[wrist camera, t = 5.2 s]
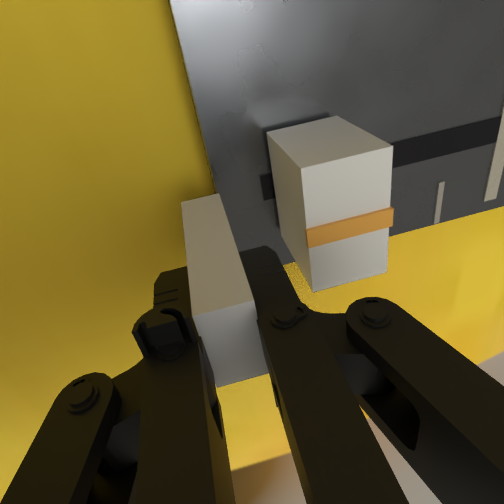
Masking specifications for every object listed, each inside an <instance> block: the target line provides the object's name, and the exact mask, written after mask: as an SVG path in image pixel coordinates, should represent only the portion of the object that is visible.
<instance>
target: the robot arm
mask: <svg viewBox="0 0 504 504" xmlns="http://www.w3.org/2000/svg"><path fill="white" fill-rule="evenodd" d="M181 208H182V218H183V228H184V238H185V248H186V258H187V266H186V267H182V268H178V269H174V270H170V271H166V272H162V273H160V275H159V277H158V278H157V280H156V282H155V283H154V302H153V304H154V306H153V309H151V310H149V311H148V312H146V313H145V314H144V315H142V316H141V317H140V318H139V319H138V320H137V322H136V323H135V324H134V327H133V330H132V334H133V336H134V338H135V340H136V342H137V344H138V346H139V348H140V350H141V352H142V354H143V356H144V358H143V359H142V360H141V361H140V362H139V363H138V364H136V365H135V366H133V367H132V368H130V369H129V370H127V371H125V372H123V373H122V374H120V375H118V376H116V377H114V378H112V379H111V378H110V377H109V376H107V375H106V374H104V373H96V372H94V373H90V374H86V375H83V376H81V377H79V378H77V379H75V380H73V381H72V382H71V383H70V384H68V385H67V386H66V387H65V388H64V389H63V390H62V391H61V392H60V394H59V395H58V396H57V398H56V399H55V401H54V403H53V405H52V406H51V408H50V410H49V412H48V414H47V416H46V418H45V420H44V422H43V423H42V425H41V427H40V429H39V431H38V433H37V435H36V437H35V439H34V440H33V442H32V444H31V446H30V448H29V450H28V452H27V454H26V455H25V457H24V459H23V461H22V463H21V465H20V467H19V469H18V471H17V472H16V474H15V476H14V478H13V480H12V482H11V484H10V486H9V487H8V489H7V491H6V493H5V495H4V497H3V499H2V501H1V503H0V504H236V503H235V496H234V490H233V483H232V477H231V470H230V463H229V457H228V450H227V444H226V437H225V431H224V424H223V418H222V411H221V405H220V402H219V400H218V397H217V394H216V387H215V383H216V386H217V388H218V387H221V386H225V385H228V384H232V383H236V382H239V381H243V380H246V379H250V378H253V377H257V376H260V375H264V374H268V373H269V374H270V378H271V382H272V387H273V392H274V397H275V401H276V406H277V407H278V408H279V412H280V415H281V418H282V422H283V425H284V429H285V432H286V435H287V439H288V442H289V445H290V449H291V452H292V456H293V459H294V462H295V466H296V469H297V473H298V476H299V479H300V483H301V486H302V489H303V493H304V496H305V500H306V503H307V504H409V502H408V500H407V498H406V497H405V495H404V493H403V490H402V489H401V487H400V485H399V483H398V481H397V479H396V477H395V475H394V473H393V471H392V469H391V467H390V465H389V463H388V461H387V459H386V457H385V455H384V453H383V451H382V449H381V448H380V445H379V443H378V442H377V440H376V438H375V436H374V434H373V432H372V430H371V428H370V426H369V424H368V422H367V420H366V418H365V416H364V414H363V412H362V410H361V408H362V409H363V410H364V411H365V412H366V414H367V415H368V416H369V417H370V418H371V419H372V421H373V422H374V423H375V424H376V425H377V427H378V428H379V429H380V430H381V431H382V433H384V435H385V436H386V437H387V439H388V440H389V441H390V442H391V443H392V444H393V446H394V447H395V448H396V449H397V450H398V452H399V453H400V454H401V455H402V456H403V458H404V459H405V460H406V461H407V462H408V463H409V465H410V466H411V467H412V468H413V469H414V471H415V472H416V473H417V474H418V475H419V477H420V478H421V479H422V480H423V481H424V482H425V484H426V485H427V486H428V487H429V488H430V490H431V491H432V492H433V493H434V494H435V495H436V497H437V498H438V499H439V500H440V502H441V503H442V504H504V386H503V385H501V384H500V383H499V382H497V381H496V380H495V379H494V378H492V377H491V376H489V375H488V374H487V373H486V372H484V371H483V370H482V369H480V368H479V367H478V366H477V365H475V364H474V363H473V362H471V361H470V360H469V359H467V358H466V357H465V356H464V355H462V354H461V353H460V352H458V351H457V350H456V349H454V348H453V347H452V346H450V345H449V344H448V343H447V342H445V341H444V340H443V339H441V338H440V337H439V336H437V335H436V334H435V333H433V332H432V331H431V330H429V329H428V328H427V327H426V326H424V325H423V324H422V323H420V322H419V321H418V320H416V319H415V318H414V317H412V316H411V315H410V314H409V313H407V312H406V311H405V310H403V309H402V308H401V307H399V306H398V305H397V304H395V303H393V302H391V301H389V300H387V299H383V298H379V297H365V298H362V299H359V300H356V301H355V302H353V303H352V304H351V305H349V307H348V309H347V311H346V313H337V314H329V313H320V312H316V311H313V310H311V309H309V308H308V307H307V306H306V305H305V304H303V303H302V302H301V301H300V300H299V298H298V296H297V294H296V292H295V290H294V287H293V285H292V283H291V281H290V279H289V277H288V275H287V273H286V271H285V270H284V267H283V265H282V263H281V261H280V259H279V257H278V255H277V253H276V252H275V251H274V250H272V249H271V248H269V247H268V246H266V245H265V246H261V247H257V248H253V249H249V250H245V251H241V252H238V250H237V247H236V244H235V241H234V237H233V234H232V231H231V228H230V225H229V222H228V219H227V216H226V213H225V210H224V207H223V204H222V201H221V198H220V195H219V193H217V194H213V195H209V196H205V197H201V198H196V199H192V200H188V201H184V202H181ZM359 405H360V406H361V408H360V406H359Z"/></svg>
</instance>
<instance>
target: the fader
mask: <svg viewBox="0 0 504 504" xmlns="http://www.w3.org/2000/svg"><path fill="white" fill-rule="evenodd" d="M266 134H267V141H268V147H269V154H270V161H271V168H272V175H273V182H274V189H275V196H276V202H277V209H278V216H279V223H280V230H281V236H282V238H283V240H284V242H285V243H286V245H287V247H288V249H289V251H290V252H291V254H292V256H293V258H294V260H295V261H296V263H297V265H298V267H299V268H300V270H301V272H302V274H303V276H304V277H305V279H306V281H307V283H308V285H309V286H310V288H311V290H312V292H317V291H320V290H324V289H327V288H331V287H335V286H338V285H342V284H346V283H349V282H353V281H357V280H360V279H364V278H367V277H371V276H375V275H378V274H382V273H386V272H387V257H388V237H389V227H392V226H393V212H394V208H392V207H391V206H390V197H391V178H392V158H393V146H392V145H390V144H389V143H387V142H385V141H383V140H381V139H379V138H377V137H376V136H374V135H372V134H370V133H368V132H366V131H364V130H363V129H361V128H359V127H357V126H355V125H353V124H351V123H349V122H348V121H346V120H344V119H342V118H340V117H338V116H333V117H329V118H324V119H320V120H316V121H312V122H307V123H303V124H299V125H294V126H290V127H286V128H282V129H277V130H273V131H269V132H266Z"/></svg>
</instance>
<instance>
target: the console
mask: <svg viewBox="0 0 504 504" xmlns="http://www.w3.org/2000/svg"><path fill="white" fill-rule="evenodd" d="M168 2H169V6H170V10H171V14H172V19H173V23H174V27H175V31H176V35H177V39H178V43H179V47H180V51H181V55H182V59H183V63H184V67H185V71H186V75H187V79H188V83H189V88H190V92H191V96H192V100H193V104H194V108H195V112H196V116H197V120H198V124H199V128H200V132H201V136H202V140H203V144H204V148H205V152H206V157H207V161H208V165H209V169H210V173H211V177H212V181H213V185H214V189H215V193H216V194H217V193H219V195H220V198H221V201H222V204H223V207H224V210H225V213H226V216H227V219H228V222H229V225H230V228H231V231H232V234H233V237H234V241H235V244H236V247H237V250H238V252H241V251H245V250H249V249H253V248H257V247H261V246H265V245H266V246H268V247H269V248H271V249H272V250H274V251H275V252H276V253H277V255H278V257H279V259H280V261H281V263H282V265H284V264H288V263H292V262H295V260H294V258H293V256H292V254H291V252H290V251H289V249H288V247H287V245H286V243H285V242H284V240H283V238H282V236H281V230H280V223H279V216H278V209H277V202H276V196H275V189H274V182H273V175H272V168H271V161H270V154H269V147H268V141H267V134H266V132H269V131H273V130H277V129H282V128H286V127H290V126H294V125H299V124H303V123H307V122H312V121H316V120H320V119H324V118H329V117H333V116H338V117H340V118H342V119H344V120H346V121H348V122H349V123H351V124H353V125H355V126H357V127H359V128H361V129H363V130H364V131H366V132H368V133H370V134H372V135H374V136H376V137H377V138H379V139H381V140H383V141H385V142H387V143H389V144H390V145H392V146H393V158H392V178H391V197H390V206H391V207H392V208H394V212H393V226H392V227H389V236H393V235H397V234H400V233H404V232H408V231H412V230H415V229H419V228H423V227H427V226H430V225H434V224H438V223H442V222H445V221H449V220H453V219H457V218H460V217H464V216H468V215H472V214H475V213H479V212H483V211H487V210H490V209H494V208H498V207H502V206H504V0H168Z"/></svg>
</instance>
